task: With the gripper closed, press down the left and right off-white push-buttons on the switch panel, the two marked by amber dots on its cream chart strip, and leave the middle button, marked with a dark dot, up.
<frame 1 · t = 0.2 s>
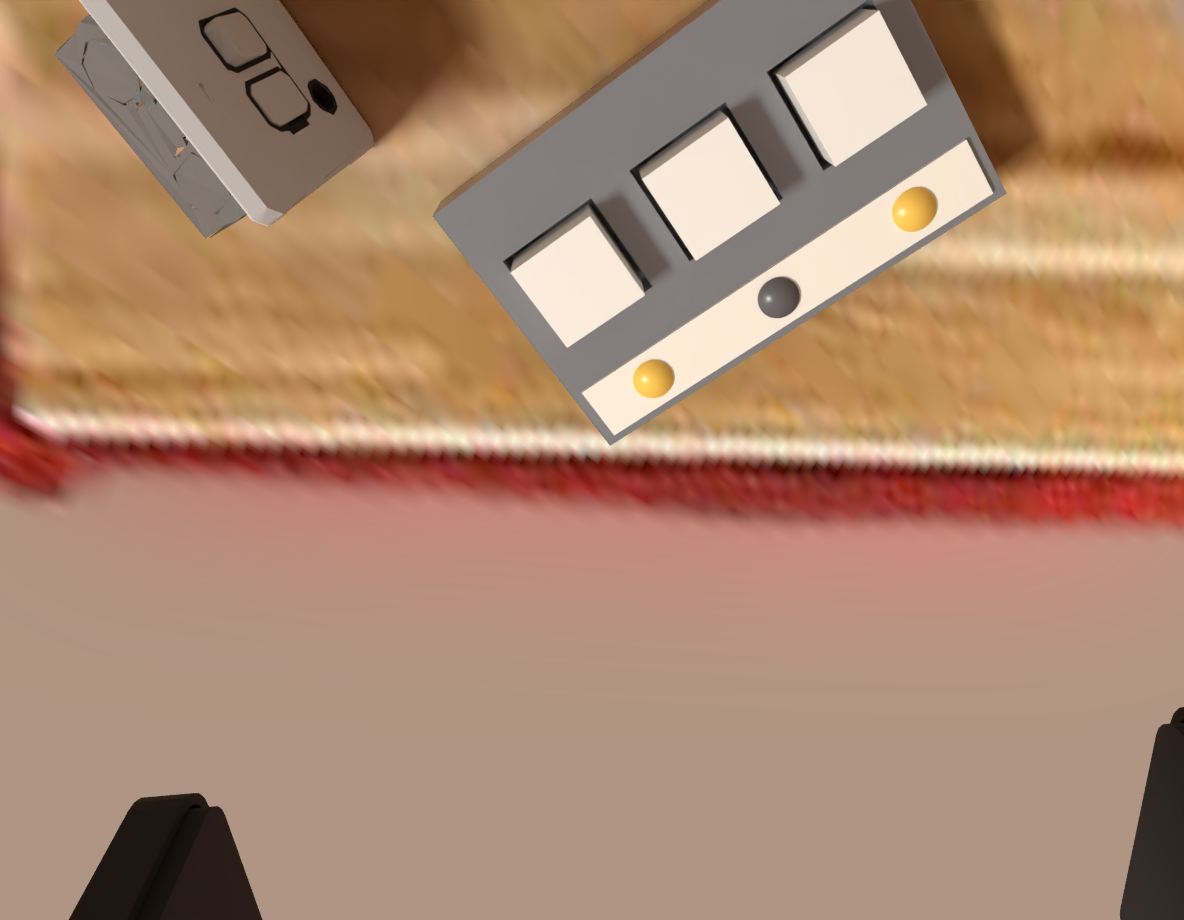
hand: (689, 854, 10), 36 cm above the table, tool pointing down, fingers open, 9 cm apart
switch panel: (710, 190, 42), on the table
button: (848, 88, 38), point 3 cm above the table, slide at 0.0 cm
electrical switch: (266, 84, 40), on the table
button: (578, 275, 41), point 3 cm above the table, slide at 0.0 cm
middle button: (707, 185, 39), point 3 cm above the table, slide at 0.0 cm
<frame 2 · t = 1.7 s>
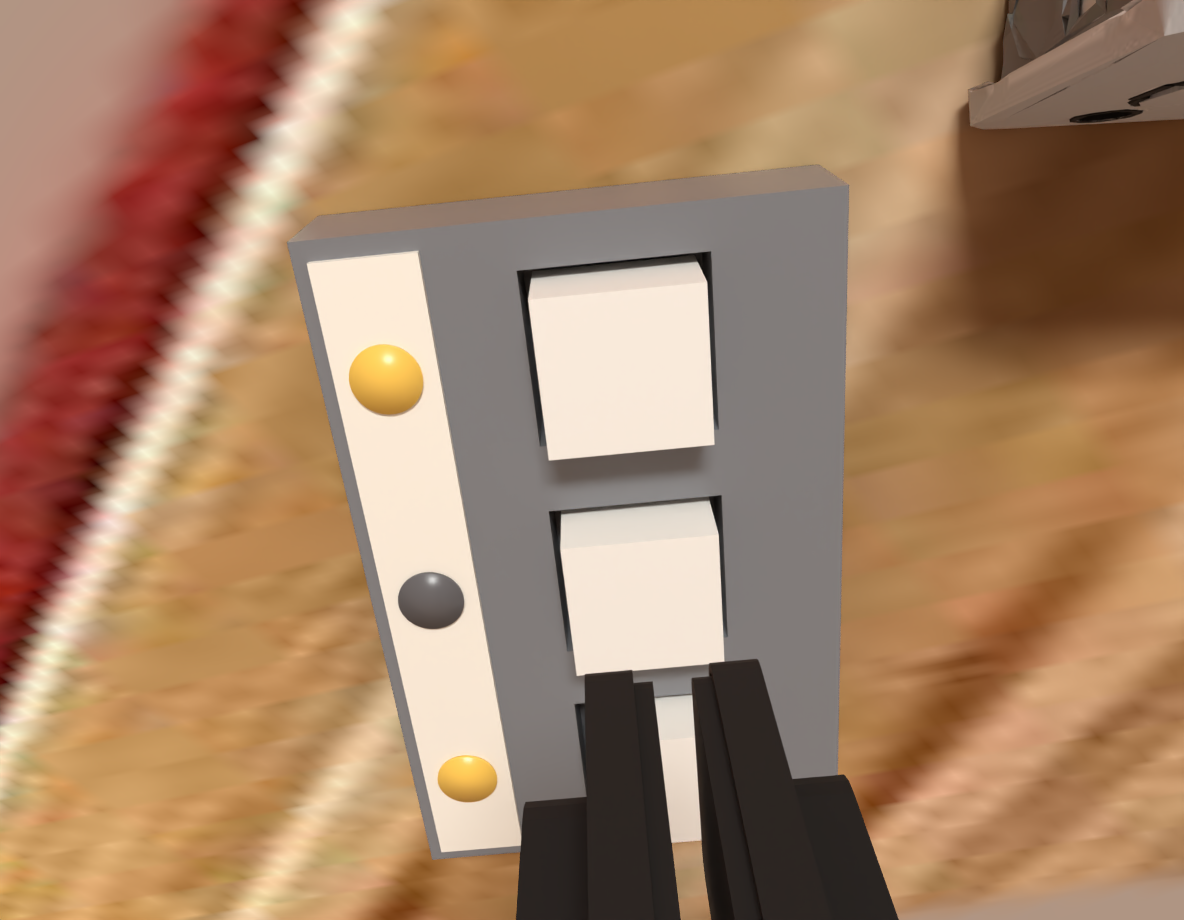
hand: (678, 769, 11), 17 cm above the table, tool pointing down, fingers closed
switch panel: (602, 525, 29), on the table
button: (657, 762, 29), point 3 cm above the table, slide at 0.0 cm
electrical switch: (1146, 2, 23), on the table
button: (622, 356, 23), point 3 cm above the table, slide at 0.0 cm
middle button: (641, 581, 26), point 3 cm above the table, slide at 0.0 cm
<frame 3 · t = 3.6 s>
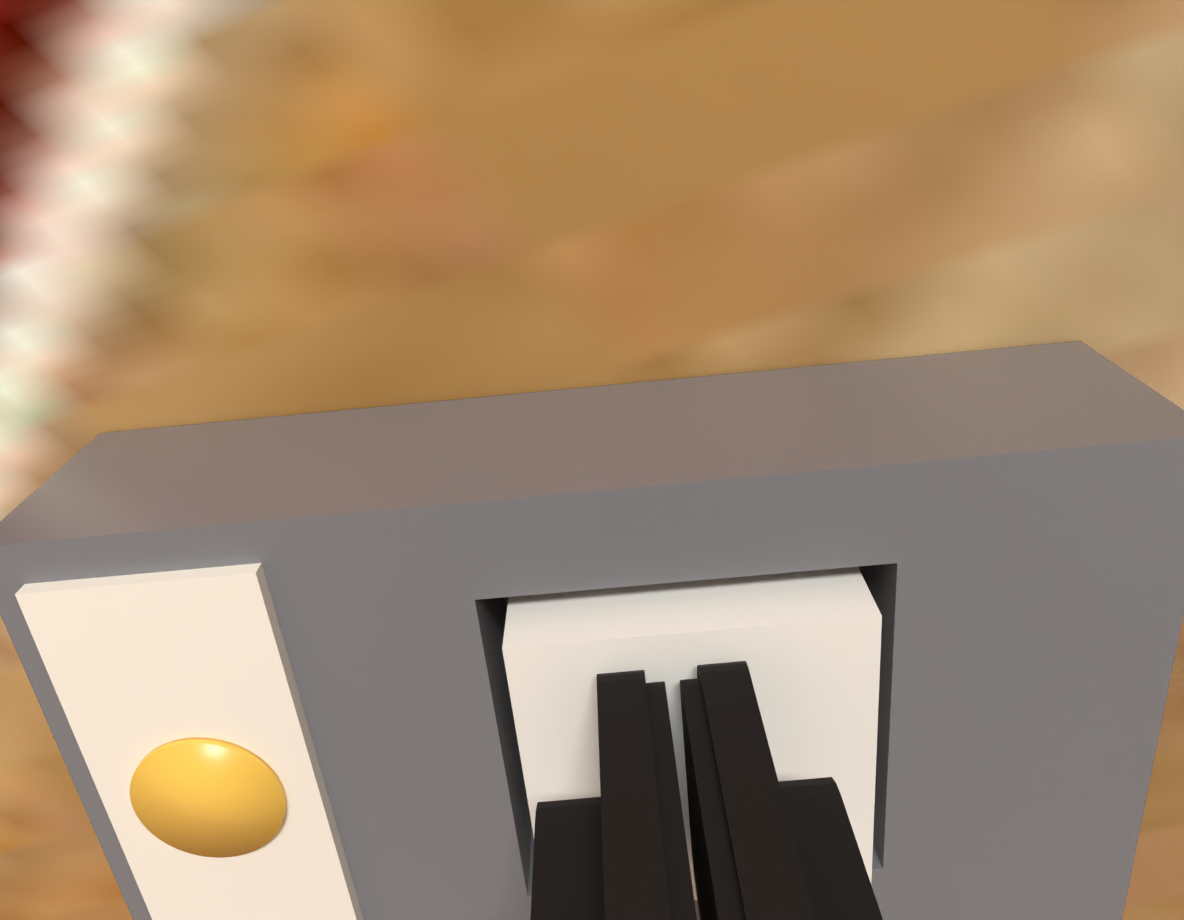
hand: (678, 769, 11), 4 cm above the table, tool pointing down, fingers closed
switch panel: (639, 914, 17), on the table
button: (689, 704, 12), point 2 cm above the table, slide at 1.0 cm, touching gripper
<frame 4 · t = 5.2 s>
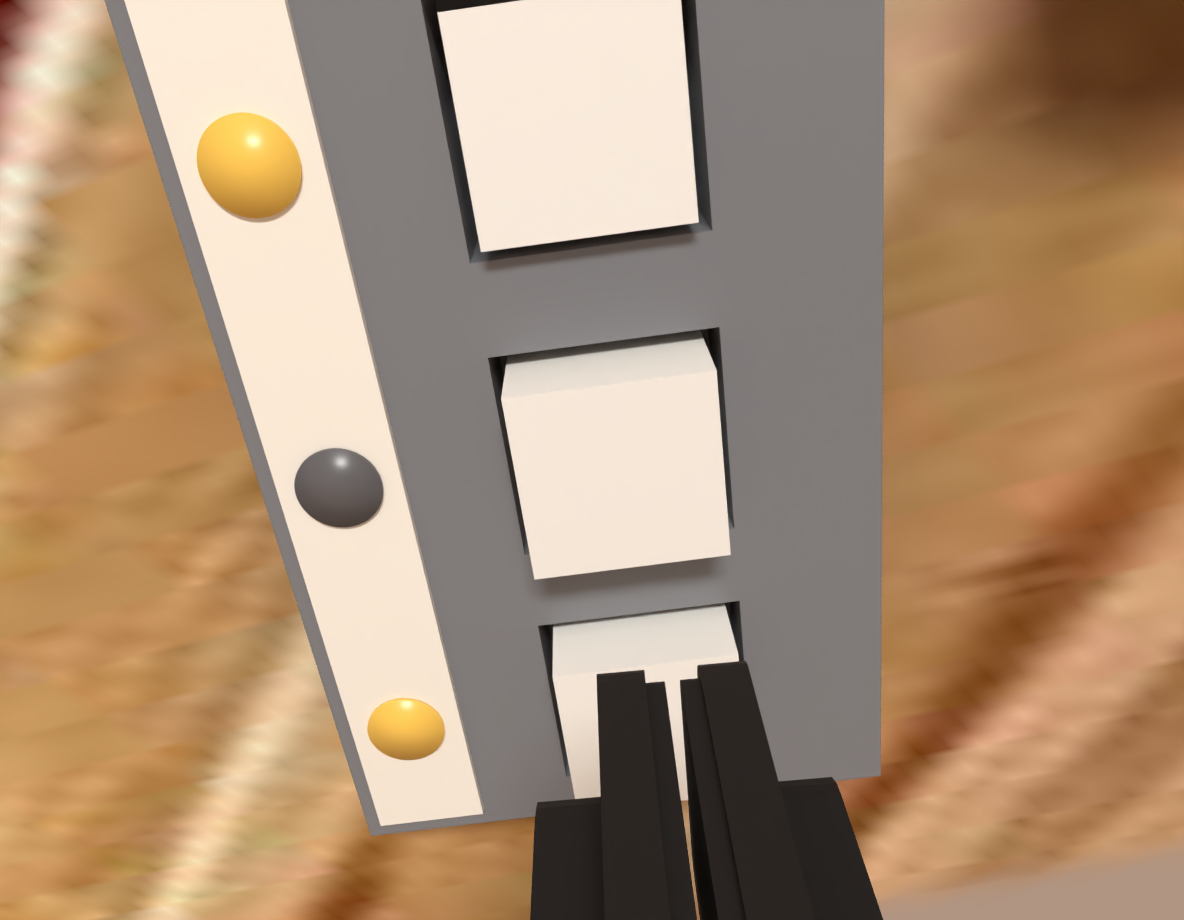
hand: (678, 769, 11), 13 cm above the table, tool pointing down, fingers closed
switch panel: (568, 398, 23), on the table
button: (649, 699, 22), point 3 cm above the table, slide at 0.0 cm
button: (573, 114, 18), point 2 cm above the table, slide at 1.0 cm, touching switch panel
middle button: (617, 452, 20), point 3 cm above the table, slide at 0.0 cm
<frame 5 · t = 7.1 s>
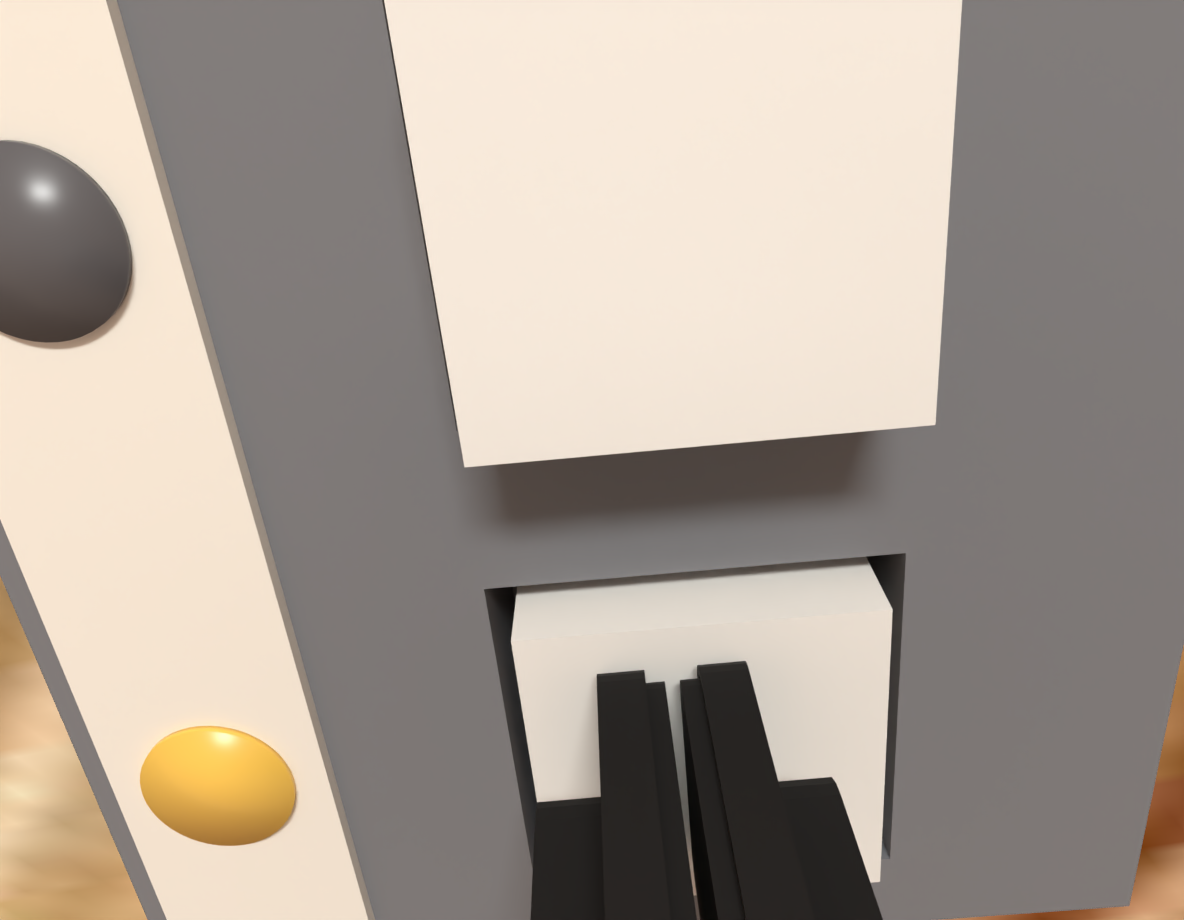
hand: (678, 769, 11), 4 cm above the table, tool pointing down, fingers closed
switch panel: (565, 142, 11), on the table
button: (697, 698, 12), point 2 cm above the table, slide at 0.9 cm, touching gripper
middle button: (671, 180, 8), point 3 cm above the table, slide at 0.0 cm
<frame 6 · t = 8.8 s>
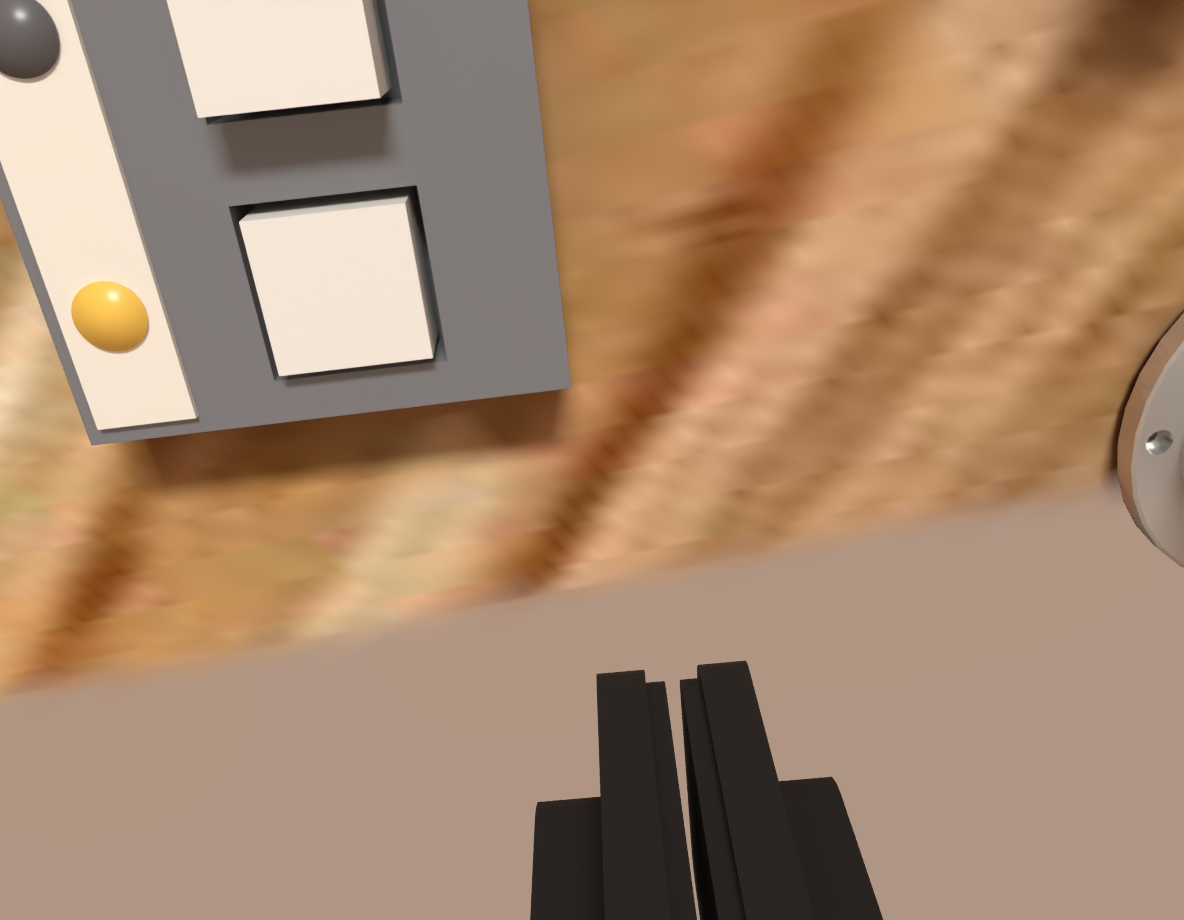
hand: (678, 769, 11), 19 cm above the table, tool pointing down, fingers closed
switch panel: (266, 8, 24), on the table
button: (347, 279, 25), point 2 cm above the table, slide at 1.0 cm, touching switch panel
middle button: (279, 6, 21), point 3 cm above the table, slide at 0.0 cm
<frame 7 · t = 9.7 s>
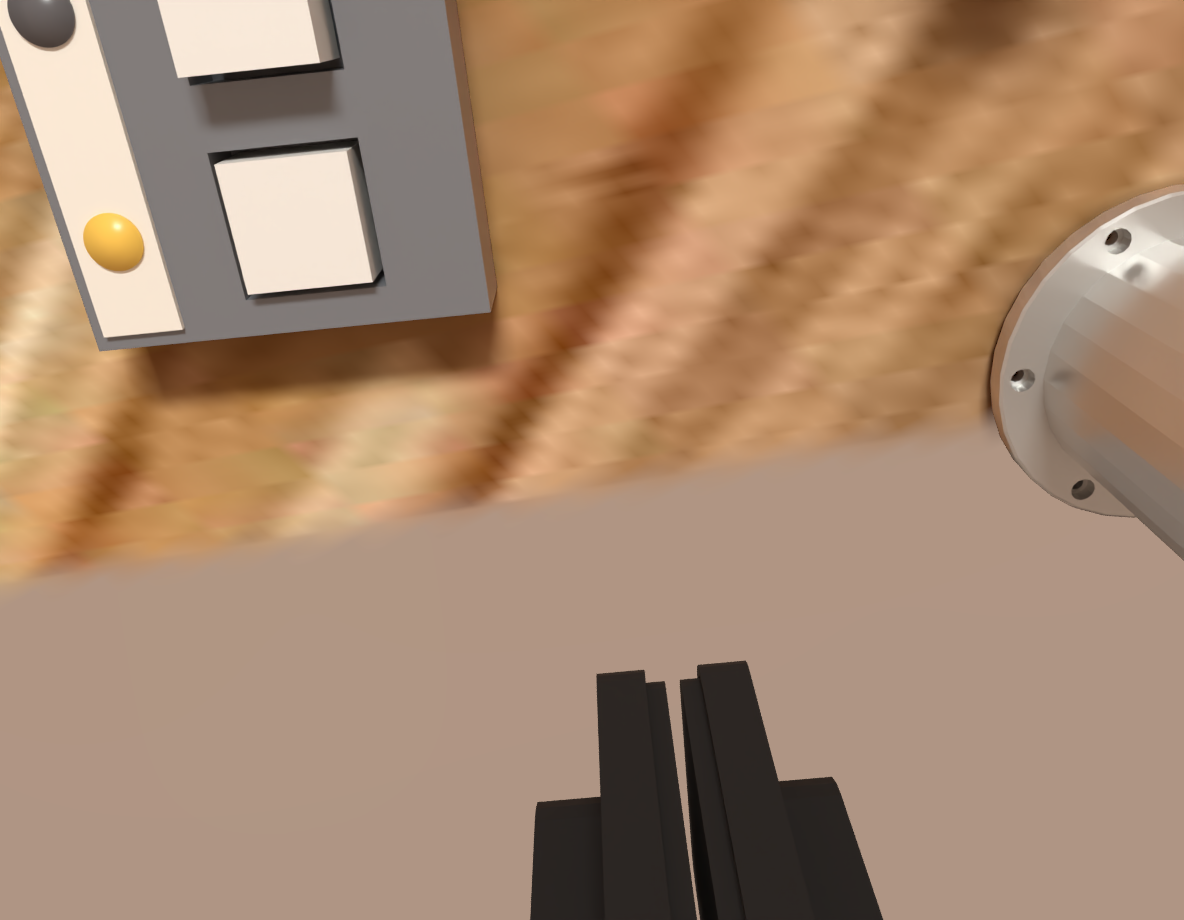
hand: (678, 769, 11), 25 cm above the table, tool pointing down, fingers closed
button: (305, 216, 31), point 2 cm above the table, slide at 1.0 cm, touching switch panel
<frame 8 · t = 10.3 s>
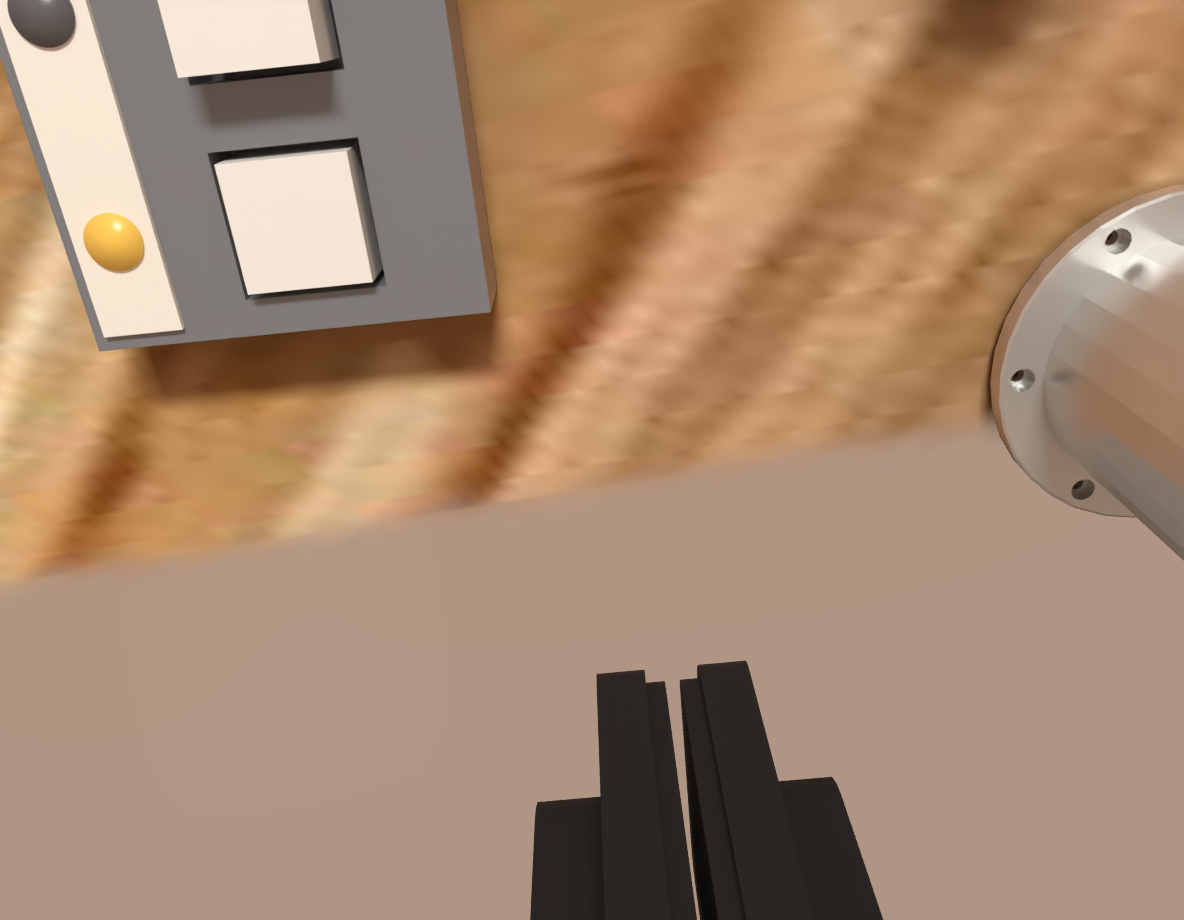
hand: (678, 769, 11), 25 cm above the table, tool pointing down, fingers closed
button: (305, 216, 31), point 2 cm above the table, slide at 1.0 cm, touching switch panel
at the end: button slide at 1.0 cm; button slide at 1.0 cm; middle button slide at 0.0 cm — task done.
